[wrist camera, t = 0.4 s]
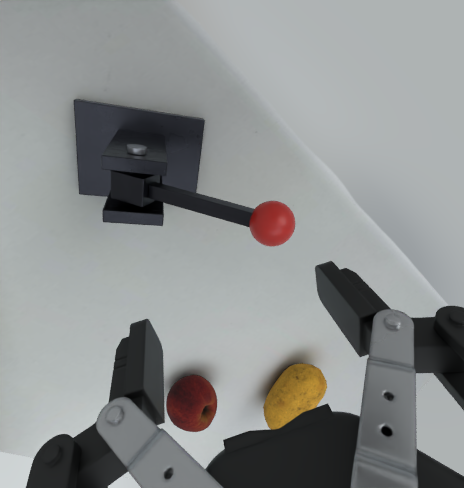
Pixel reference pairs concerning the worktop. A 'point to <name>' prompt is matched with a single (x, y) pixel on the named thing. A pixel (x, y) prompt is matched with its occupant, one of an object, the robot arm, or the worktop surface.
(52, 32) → the worktop surface
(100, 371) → the worktop surface
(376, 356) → the robot arm
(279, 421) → the potato
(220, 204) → the clamp lever
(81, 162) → the lever base bracket
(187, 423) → the apple
